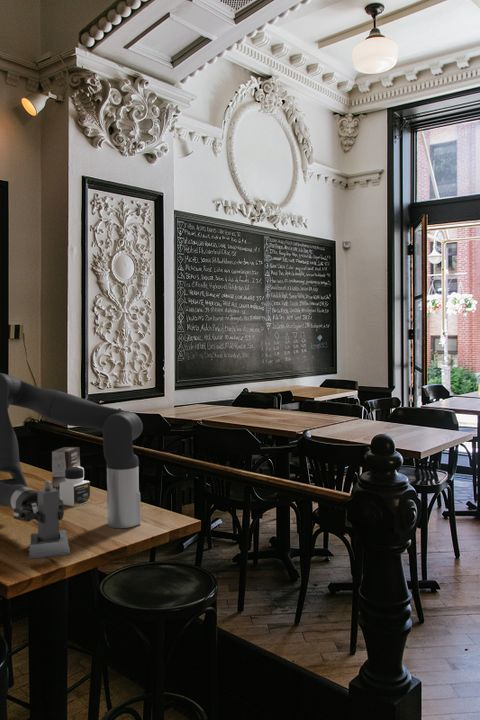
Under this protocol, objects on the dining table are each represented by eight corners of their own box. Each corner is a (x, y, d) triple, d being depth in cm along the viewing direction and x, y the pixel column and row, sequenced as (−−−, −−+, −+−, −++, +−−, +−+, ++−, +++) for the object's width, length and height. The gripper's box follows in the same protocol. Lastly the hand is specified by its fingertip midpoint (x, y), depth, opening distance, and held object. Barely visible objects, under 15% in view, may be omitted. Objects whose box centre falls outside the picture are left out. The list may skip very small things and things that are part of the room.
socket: (67, 541, 162) (67, 529, 162) (70, 554, 153) (70, 541, 153) (28, 545, 159) (28, 533, 159) (28, 559, 149) (28, 545, 149)
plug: (53, 539, 159) (52, 478, 158) (59, 543, 155) (58, 481, 155) (38, 542, 156) (37, 481, 155) (44, 547, 153) (43, 484, 152)
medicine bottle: (74, 507, 195) (73, 470, 194) (59, 503, 198) (58, 468, 198) (90, 501, 201) (90, 466, 200) (75, 498, 204) (75, 464, 204)
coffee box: (68, 498, 205) (68, 451, 204) (51, 497, 206) (50, 451, 206) (81, 491, 214) (80, 446, 213) (64, 490, 215) (63, 446, 215)
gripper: (2, 494, 162) (24, 508, 149) (53, 485, 171) (78, 498, 158) (2, 521, 162) (25, 538, 149) (53, 511, 171) (78, 526, 158)
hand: (52, 517), depth 153 cm, fingers closed on plug, 4 cm apart
